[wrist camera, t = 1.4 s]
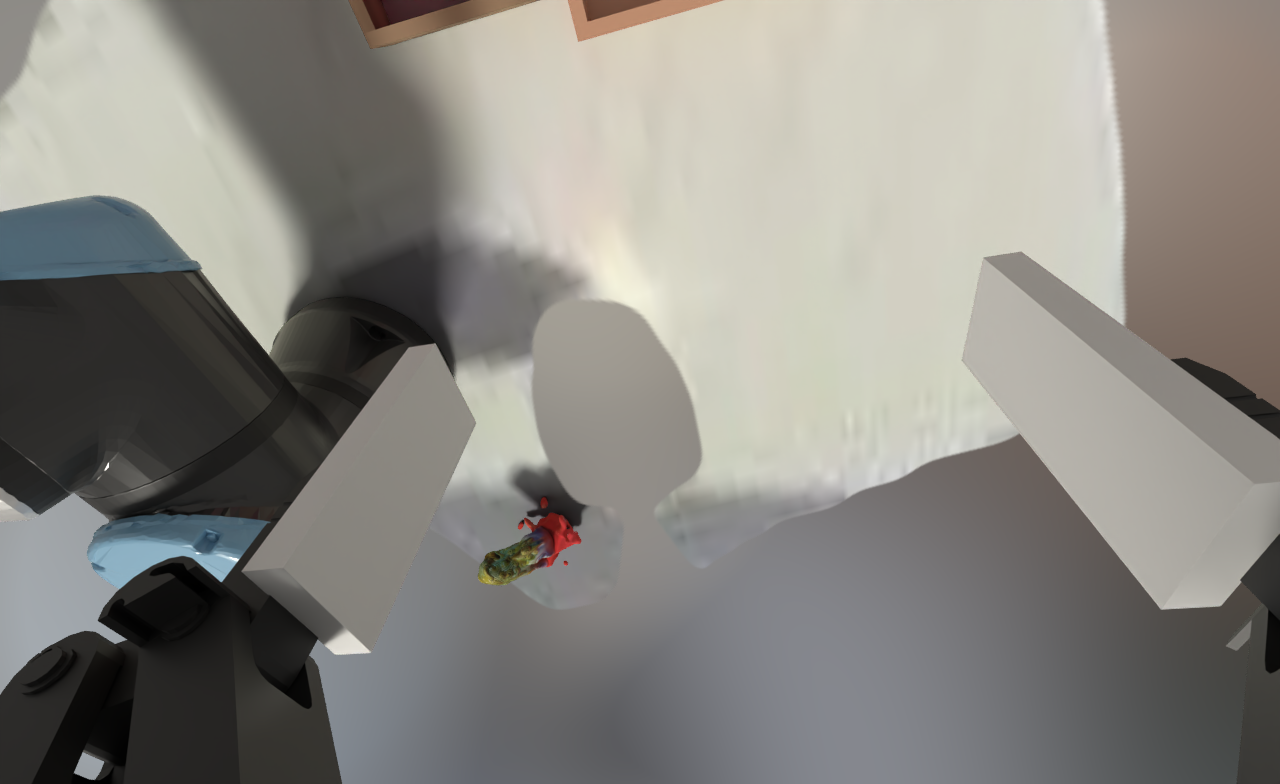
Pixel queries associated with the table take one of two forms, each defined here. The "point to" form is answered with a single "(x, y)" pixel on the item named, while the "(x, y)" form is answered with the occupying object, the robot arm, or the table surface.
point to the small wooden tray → (422, 19)
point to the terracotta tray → (623, 13)
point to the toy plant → (529, 550)
